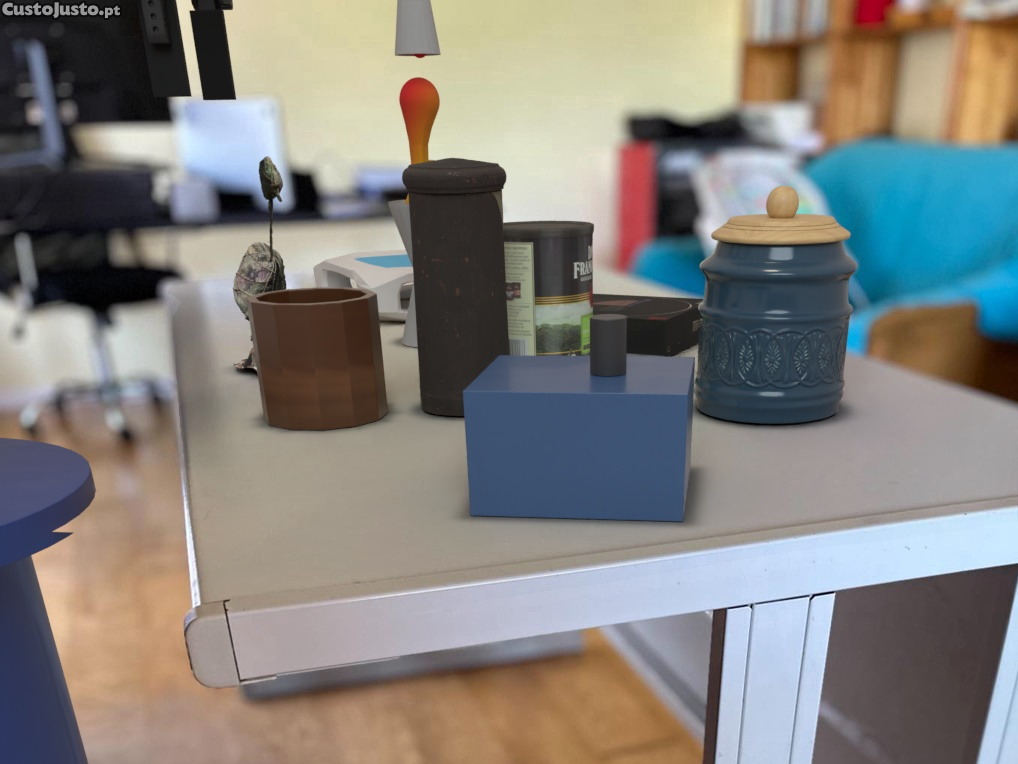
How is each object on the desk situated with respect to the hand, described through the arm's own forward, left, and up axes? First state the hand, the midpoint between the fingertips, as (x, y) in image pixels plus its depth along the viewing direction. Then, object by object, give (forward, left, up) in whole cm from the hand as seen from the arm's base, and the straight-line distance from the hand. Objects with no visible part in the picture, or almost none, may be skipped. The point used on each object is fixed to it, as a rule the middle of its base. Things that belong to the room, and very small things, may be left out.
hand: (197, 99), depth 89 cm
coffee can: (+26, +13, -25) cm, 38 cm away
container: (+21, 0, -25) cm, 32 cm away
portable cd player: (+32, +34, -25) cm, 53 cm away
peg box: (+35, -25, -24) cm, 49 cm away
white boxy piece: (0, +61, -25) cm, 66 cm away
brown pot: (+9, -4, -24) cm, 26 cm away
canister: (+48, +1, -25) cm, 54 cm away
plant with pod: (-4, +17, -25) cm, 30 cm away
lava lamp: (+10, +34, -25) cm, 43 cm away
